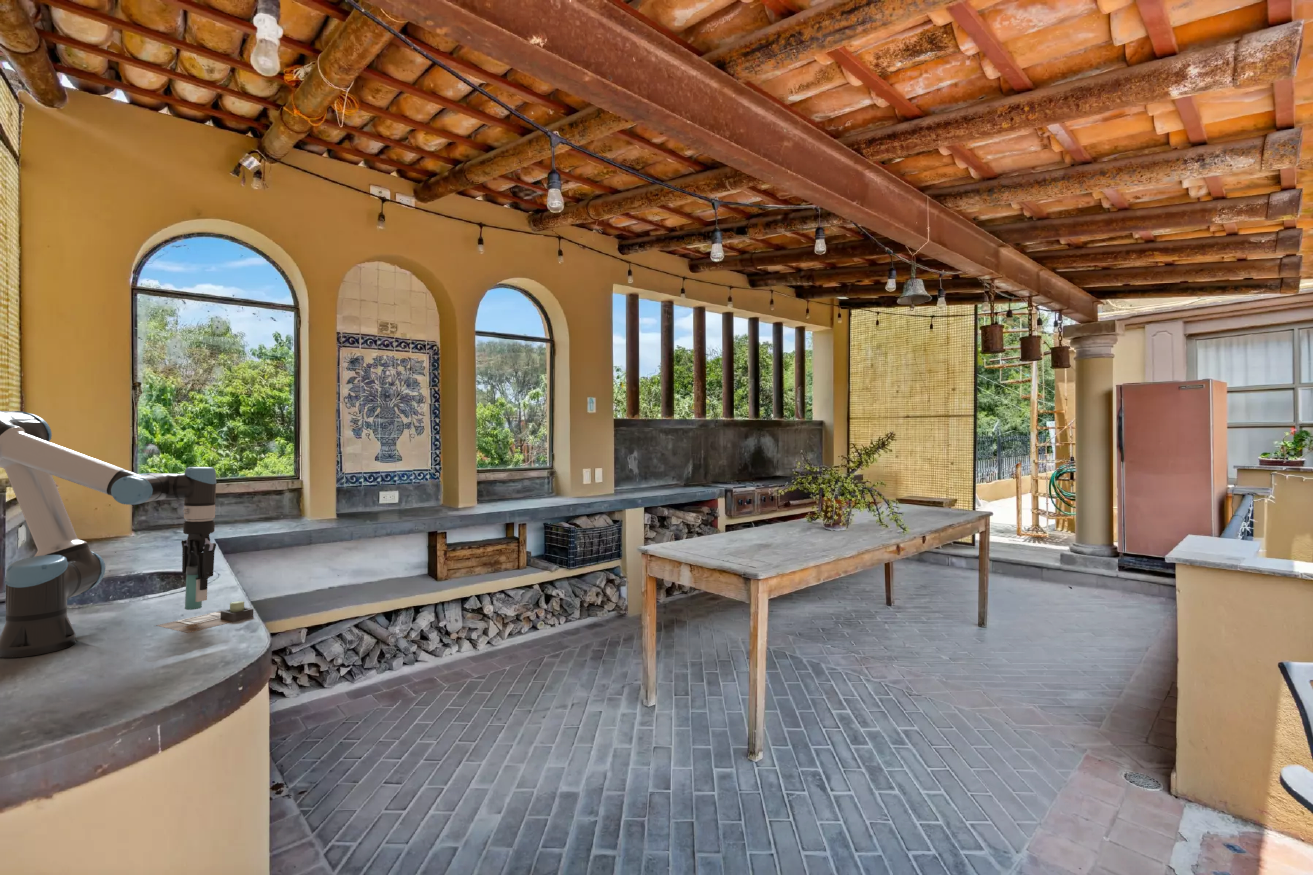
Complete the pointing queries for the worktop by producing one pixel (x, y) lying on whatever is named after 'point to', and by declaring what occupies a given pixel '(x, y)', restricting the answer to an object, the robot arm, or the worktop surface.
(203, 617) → the clipboard
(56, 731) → the worktop surface
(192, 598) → the marker
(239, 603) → the button
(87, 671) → the worktop surface
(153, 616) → the worktop surface
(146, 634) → the worktop surface
